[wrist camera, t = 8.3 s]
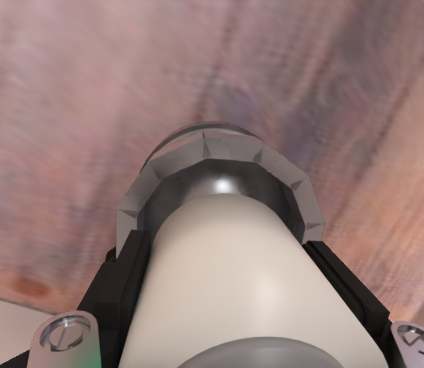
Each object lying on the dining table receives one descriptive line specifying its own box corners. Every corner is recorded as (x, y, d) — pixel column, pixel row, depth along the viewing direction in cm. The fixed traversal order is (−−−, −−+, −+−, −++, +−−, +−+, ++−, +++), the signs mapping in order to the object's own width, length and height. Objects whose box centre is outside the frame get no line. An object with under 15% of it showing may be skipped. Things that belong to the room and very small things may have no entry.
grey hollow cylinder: (278, 125, 21) (348, 145, 12) (258, 238, 24) (302, 329, 14) (150, 112, 20) (111, 121, 11) (145, 231, 23) (112, 323, 13)
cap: (304, 199, 11) (445, 318, 5) (278, 319, 12) (358, 520, 6) (154, 187, 10) (100, 307, 4) (147, 315, 12) (102, 532, 6)
